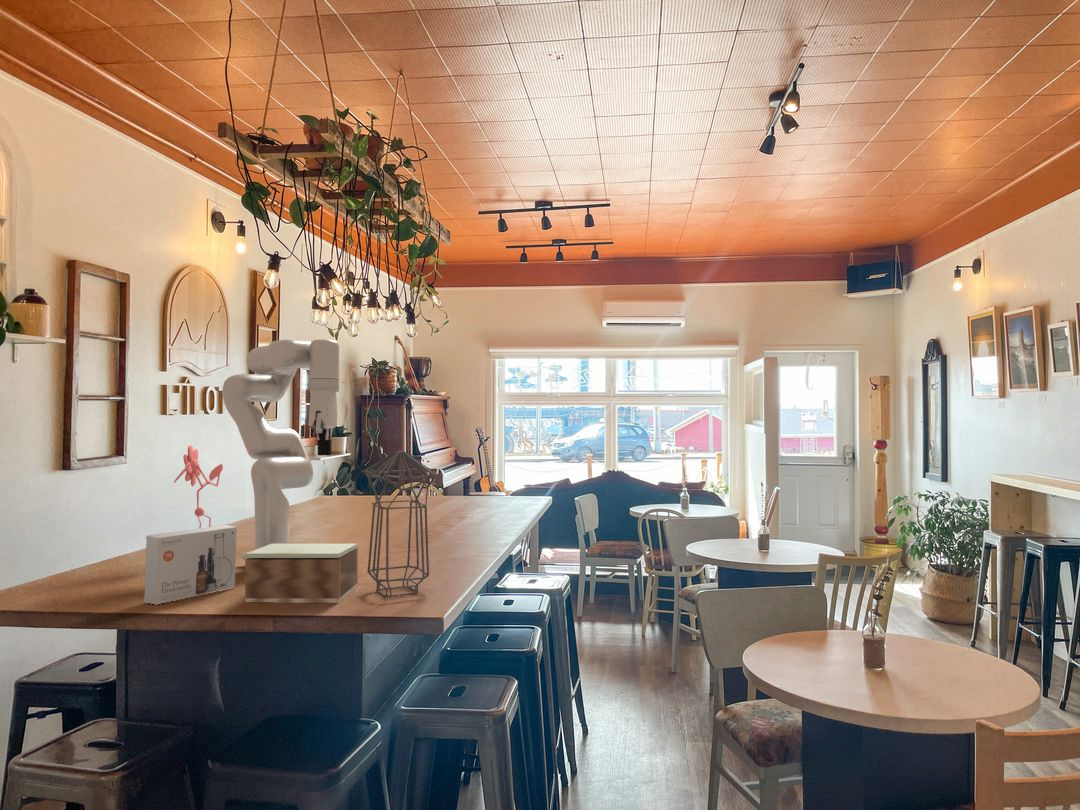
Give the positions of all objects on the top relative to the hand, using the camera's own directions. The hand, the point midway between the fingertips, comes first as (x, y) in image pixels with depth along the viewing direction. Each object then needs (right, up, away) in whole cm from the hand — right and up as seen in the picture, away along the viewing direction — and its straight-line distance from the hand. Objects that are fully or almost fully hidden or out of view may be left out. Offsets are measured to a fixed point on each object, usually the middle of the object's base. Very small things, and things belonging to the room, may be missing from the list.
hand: (324, 455), depth 197 cm
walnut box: (0, -33, -16) cm, 37 cm away
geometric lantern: (+23, -33, -15) cm, 43 cm away
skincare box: (-27, -33, -17) cm, 46 cm away
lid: (0, -23, -16) cm, 28 cm away
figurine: (-48, -34, +27) cm, 65 cm away
